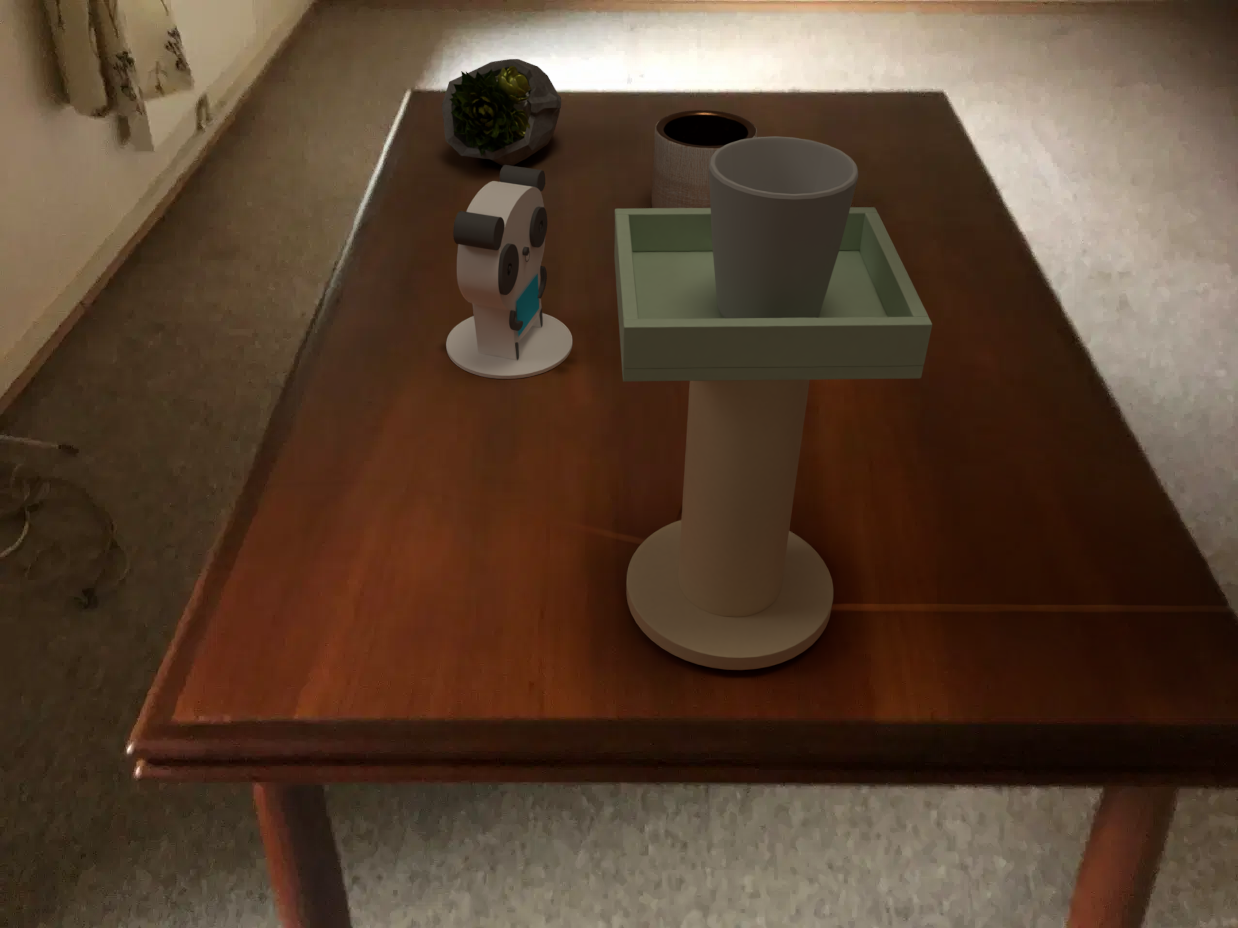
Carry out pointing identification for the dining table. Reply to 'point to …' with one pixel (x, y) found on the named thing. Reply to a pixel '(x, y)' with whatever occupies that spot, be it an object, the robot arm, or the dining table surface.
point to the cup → (777, 224)
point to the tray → (747, 429)
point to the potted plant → (501, 111)
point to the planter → (691, 154)
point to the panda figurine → (505, 282)
